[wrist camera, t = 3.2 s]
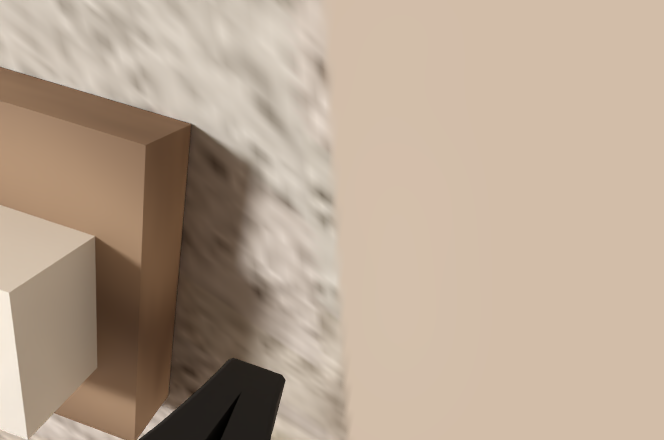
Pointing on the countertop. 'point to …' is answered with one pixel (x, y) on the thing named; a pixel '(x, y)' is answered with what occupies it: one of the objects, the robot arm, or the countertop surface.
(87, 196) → the board
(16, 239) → the tile
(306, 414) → the countertop surface
